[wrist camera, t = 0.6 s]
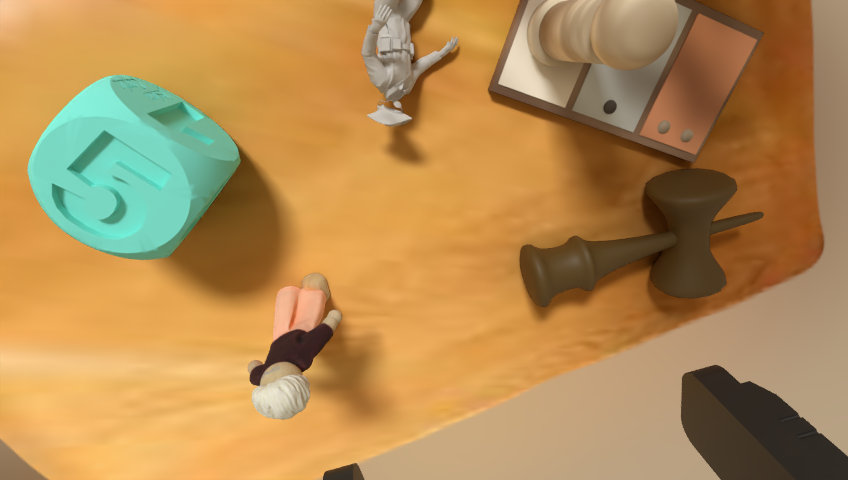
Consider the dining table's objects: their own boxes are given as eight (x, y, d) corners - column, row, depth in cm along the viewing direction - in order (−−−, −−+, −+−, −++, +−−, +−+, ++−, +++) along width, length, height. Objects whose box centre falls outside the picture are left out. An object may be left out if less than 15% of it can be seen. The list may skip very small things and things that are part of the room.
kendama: (505, 211, 38) (740, 148, 38) (522, 305, 42) (732, 248, 42) (529, 242, 32) (802, 168, 32) (545, 347, 36) (786, 281, 36)
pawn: (542, -16, 30) (640, -46, 20) (599, 9, 31) (719, -8, 21) (516, 54, 31) (595, 59, 21) (571, 75, 32) (671, 89, 22)
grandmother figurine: (313, 253, 36) (294, 351, 24) (349, 282, 37) (347, 388, 26) (249, 315, 37) (203, 437, 26) (286, 341, 39) (258, 467, 27)
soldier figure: (463, -62, 30) (471, 124, 31) (405, -37, 33) (414, 133, 34) (384, -126, 24) (397, 110, 25) (321, -87, 27) (336, 123, 28)
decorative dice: (253, 147, 32) (223, 177, 25) (192, 230, 34) (148, 281, 27) (143, 68, 29) (74, 76, 22) (82, 164, 31) (0, 201, 24)
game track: (543, -65, 30) (549, -68, 29) (755, 33, 34) (766, 32, 33) (487, 89, 33) (491, 91, 32) (687, 160, 37) (695, 163, 36)
